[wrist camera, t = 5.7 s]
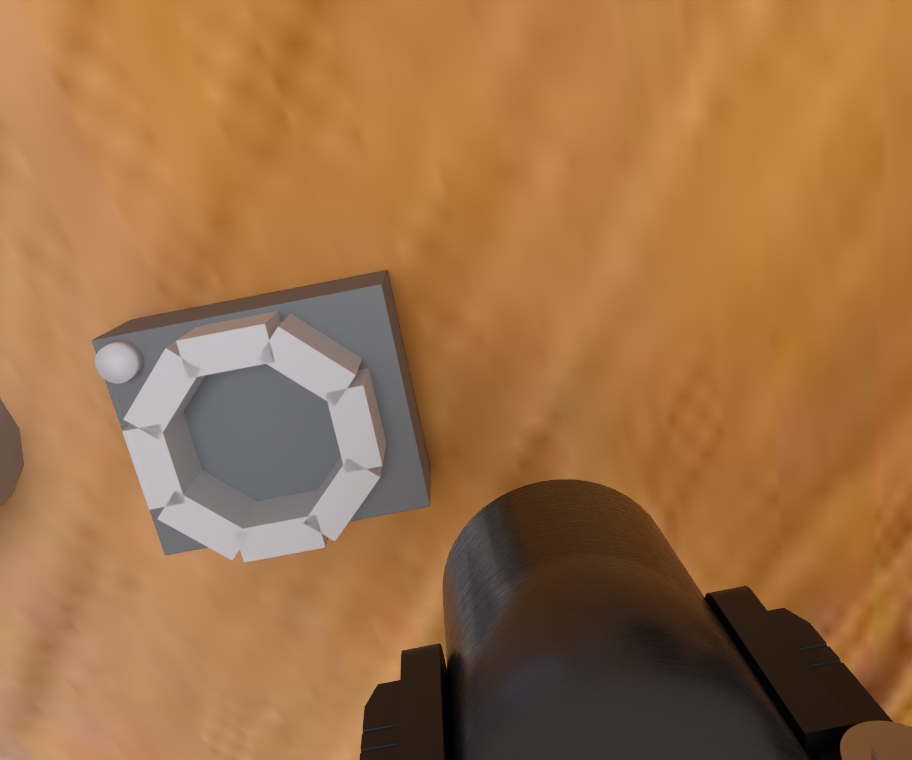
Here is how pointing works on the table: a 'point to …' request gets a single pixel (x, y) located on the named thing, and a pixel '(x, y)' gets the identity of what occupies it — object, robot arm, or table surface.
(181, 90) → the table surface
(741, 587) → the robot arm
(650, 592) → the lens
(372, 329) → the grey block with ring
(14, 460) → the cup
